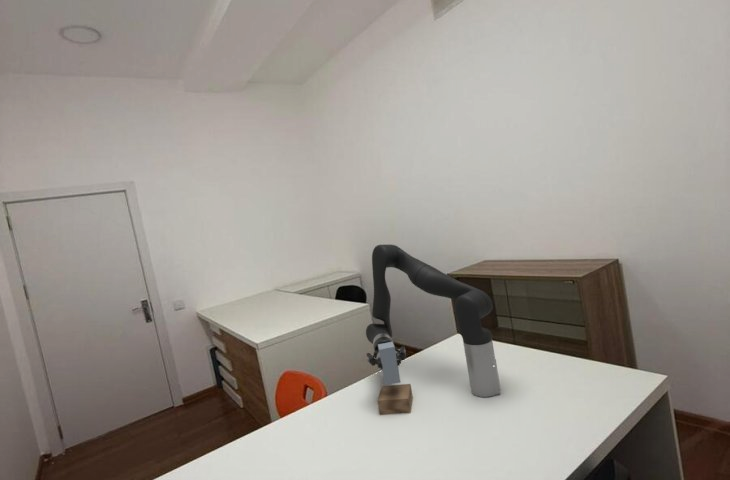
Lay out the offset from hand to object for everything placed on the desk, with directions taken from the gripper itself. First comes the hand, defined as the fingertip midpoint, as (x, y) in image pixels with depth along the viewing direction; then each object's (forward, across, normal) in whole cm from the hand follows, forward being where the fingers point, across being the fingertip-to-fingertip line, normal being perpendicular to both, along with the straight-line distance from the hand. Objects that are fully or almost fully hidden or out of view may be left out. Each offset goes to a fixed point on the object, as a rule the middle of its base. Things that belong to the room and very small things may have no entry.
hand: (389, 364), depth 126 cm
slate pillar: (-3, 0, +7) cm, 7 cm away
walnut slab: (-2, 0, +16) cm, 16 cm away
